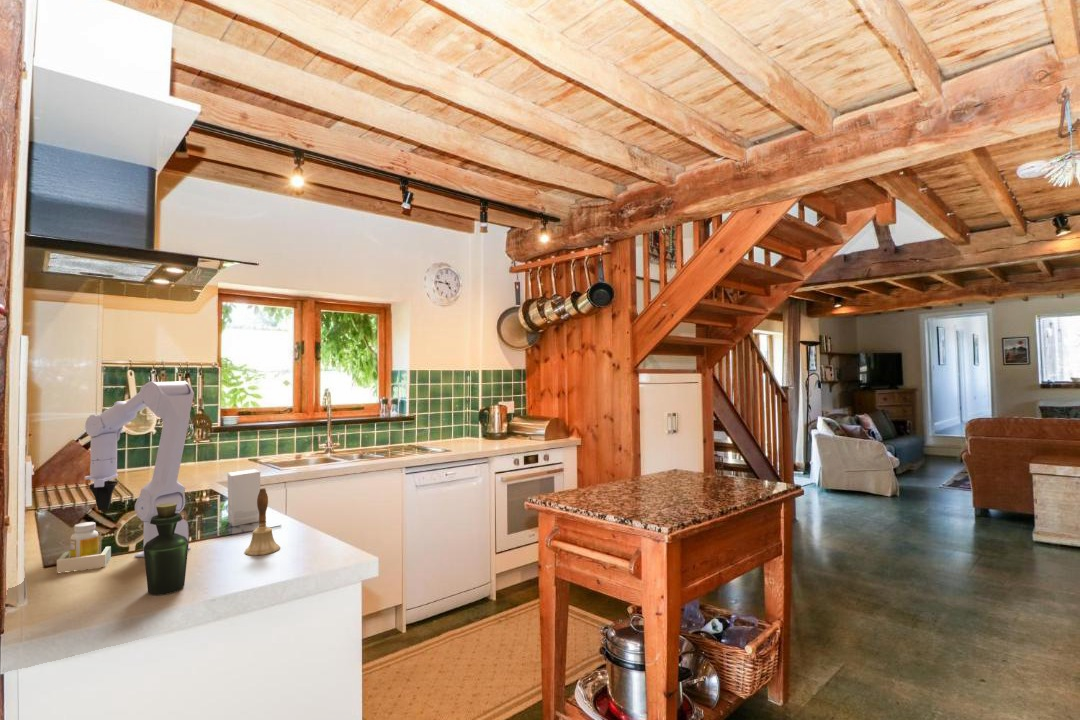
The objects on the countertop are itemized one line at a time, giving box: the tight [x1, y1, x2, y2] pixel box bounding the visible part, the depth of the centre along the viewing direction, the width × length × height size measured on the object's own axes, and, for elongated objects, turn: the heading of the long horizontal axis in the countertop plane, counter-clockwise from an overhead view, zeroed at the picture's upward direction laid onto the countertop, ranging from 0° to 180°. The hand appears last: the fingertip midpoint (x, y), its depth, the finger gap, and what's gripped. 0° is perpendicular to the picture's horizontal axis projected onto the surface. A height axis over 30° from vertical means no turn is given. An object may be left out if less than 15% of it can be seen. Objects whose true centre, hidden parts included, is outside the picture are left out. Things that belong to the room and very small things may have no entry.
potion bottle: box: [143, 503, 190, 596], centre depth 121 cm, size 8×8×18 cm
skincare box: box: [227, 468, 261, 527], centre depth 176 cm, size 8×7×16 cm
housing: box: [56, 545, 112, 573], centre depth 137 cm, size 8×9×3 cm
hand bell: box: [244, 487, 281, 556], centre depth 148 cm, size 8×8×16 cm
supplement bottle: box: [69, 521, 100, 558], centre depth 138 cm, size 5×5×10 cm
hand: (103, 509), depth 153 cm, fingers closed
